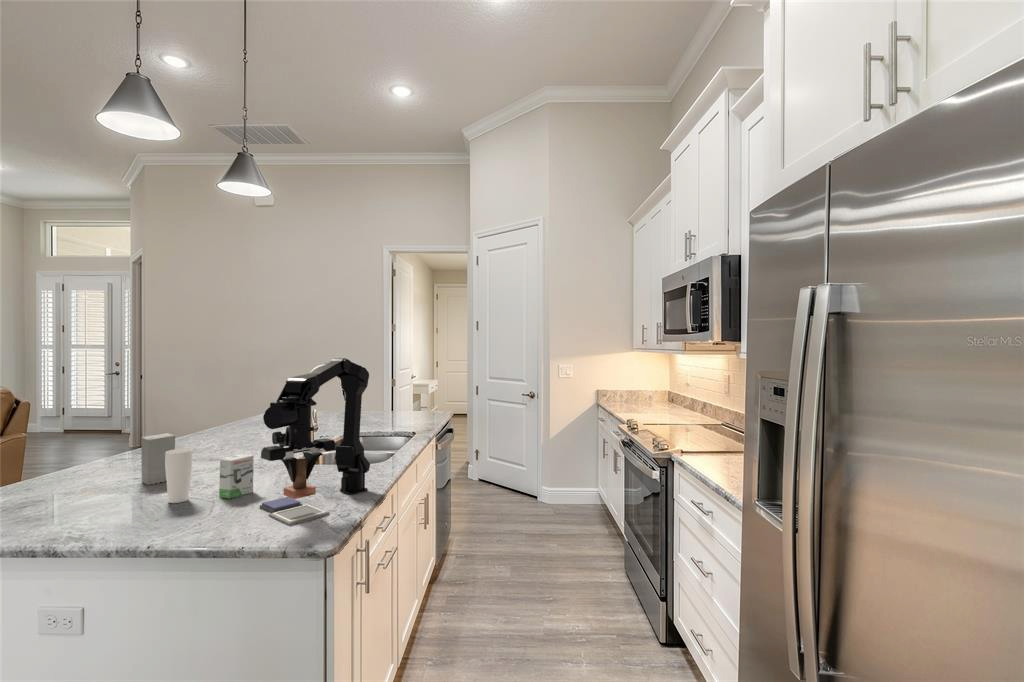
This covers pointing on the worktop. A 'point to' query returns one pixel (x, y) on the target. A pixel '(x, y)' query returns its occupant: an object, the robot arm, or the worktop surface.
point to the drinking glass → (178, 474)
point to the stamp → (300, 483)
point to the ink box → (236, 476)
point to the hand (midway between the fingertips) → (299, 480)
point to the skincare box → (155, 457)
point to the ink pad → (280, 504)
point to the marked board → (299, 514)
